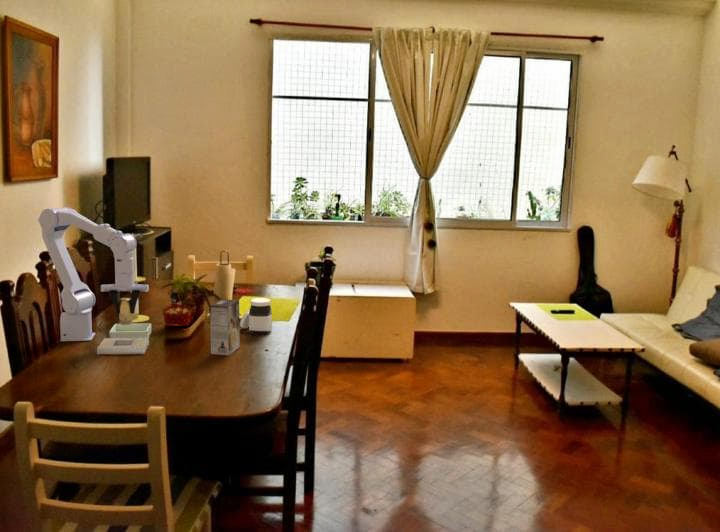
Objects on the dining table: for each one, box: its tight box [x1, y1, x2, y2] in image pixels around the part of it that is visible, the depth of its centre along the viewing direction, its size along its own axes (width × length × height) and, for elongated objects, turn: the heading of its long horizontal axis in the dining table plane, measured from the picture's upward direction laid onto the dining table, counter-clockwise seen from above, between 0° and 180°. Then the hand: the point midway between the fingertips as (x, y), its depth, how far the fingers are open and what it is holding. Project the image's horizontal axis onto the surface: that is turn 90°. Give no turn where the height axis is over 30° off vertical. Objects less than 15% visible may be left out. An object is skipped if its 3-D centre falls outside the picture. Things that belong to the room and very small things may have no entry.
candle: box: [130, 232, 150, 324], centre depth 246 cm, size 10×10×32 cm
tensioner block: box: [96, 337, 150, 356], centre depth 214 cm, size 14×11×2 cm
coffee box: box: [209, 298, 241, 356], centre depth 214 cm, size 9×6×16 cm
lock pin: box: [118, 297, 133, 325], centre depth 218 cm, size 4×4×8 cm
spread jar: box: [239, 297, 273, 336], centre depth 238 cm, size 12×11×12 cm
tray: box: [108, 323, 153, 339], centre depth 228 cm, size 12×10×3 cm
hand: (125, 312), depth 218 cm, fingers closed on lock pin, 4 cm apart
